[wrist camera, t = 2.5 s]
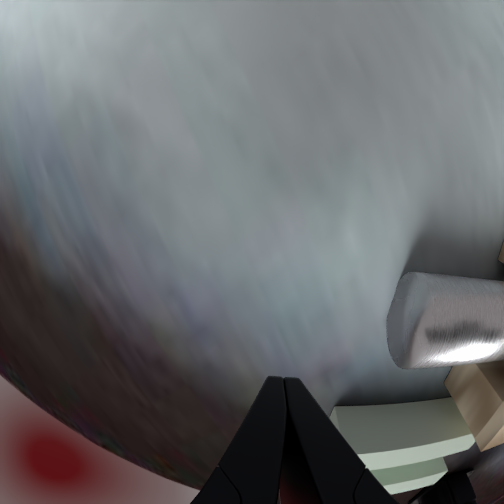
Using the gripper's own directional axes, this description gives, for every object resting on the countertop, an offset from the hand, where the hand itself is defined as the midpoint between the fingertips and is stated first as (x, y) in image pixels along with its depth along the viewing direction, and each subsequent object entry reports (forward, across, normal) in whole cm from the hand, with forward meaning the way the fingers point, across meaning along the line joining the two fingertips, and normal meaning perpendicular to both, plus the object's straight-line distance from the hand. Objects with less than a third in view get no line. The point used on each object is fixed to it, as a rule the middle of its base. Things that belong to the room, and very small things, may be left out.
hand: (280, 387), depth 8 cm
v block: (+5, -9, +10) cm, 15 cm away
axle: (+6, -13, 0) cm, 15 cm away
